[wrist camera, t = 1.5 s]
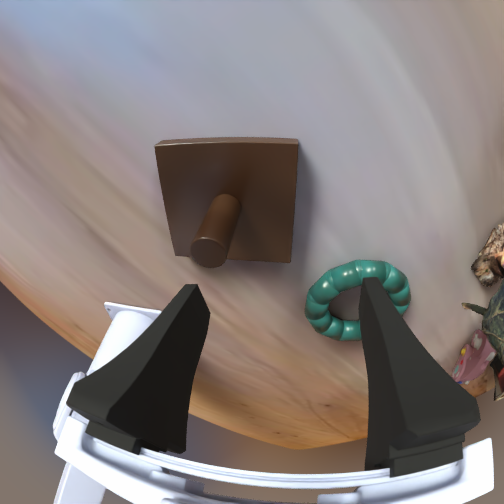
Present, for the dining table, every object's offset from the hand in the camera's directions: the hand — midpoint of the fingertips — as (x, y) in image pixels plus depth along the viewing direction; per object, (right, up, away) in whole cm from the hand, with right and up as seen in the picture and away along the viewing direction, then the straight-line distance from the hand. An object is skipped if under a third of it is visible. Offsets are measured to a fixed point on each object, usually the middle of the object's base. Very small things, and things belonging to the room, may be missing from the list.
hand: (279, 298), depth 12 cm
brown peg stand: (-3, +6, +7) cm, 10 cm away
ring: (+8, -3, +11) cm, 14 cm away
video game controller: (+28, -9, +15) cm, 33 cm away
